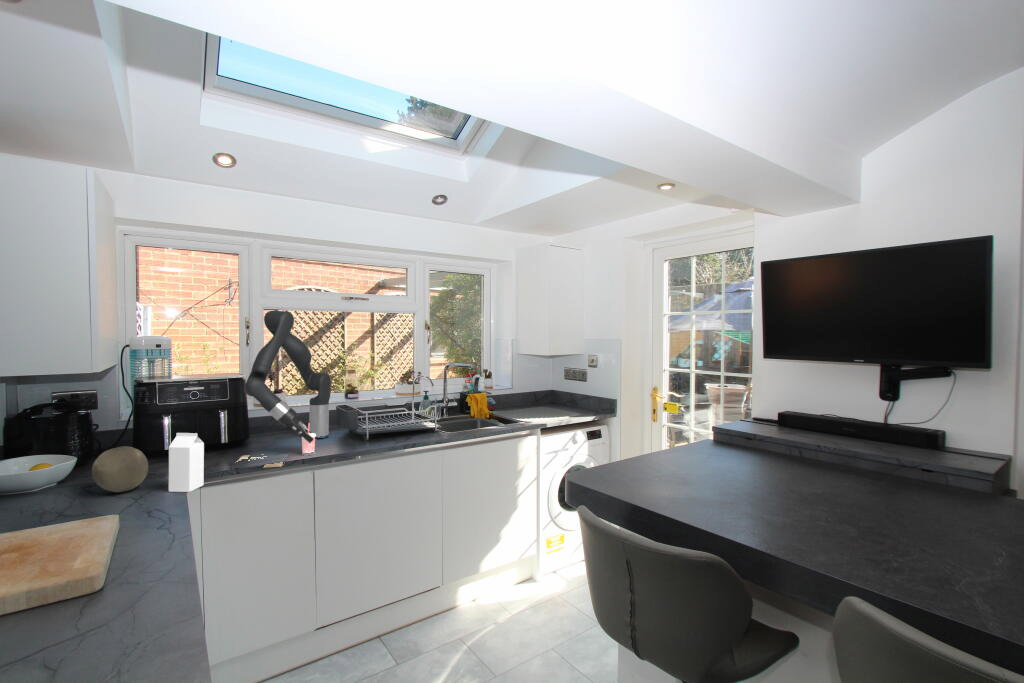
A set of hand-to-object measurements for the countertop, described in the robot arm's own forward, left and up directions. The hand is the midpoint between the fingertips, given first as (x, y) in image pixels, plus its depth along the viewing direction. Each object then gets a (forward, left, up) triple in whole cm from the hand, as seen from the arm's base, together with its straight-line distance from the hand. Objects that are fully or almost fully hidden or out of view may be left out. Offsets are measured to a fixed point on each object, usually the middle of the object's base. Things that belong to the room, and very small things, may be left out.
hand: (312, 439), depth 209 cm
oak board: (+8, -19, -7) cm, 21 cm away
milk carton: (+39, -36, -7) cm, 53 cm away
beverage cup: (0, -2, -7) cm, 7 cm away
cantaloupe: (+38, -55, -7) cm, 67 cm away
